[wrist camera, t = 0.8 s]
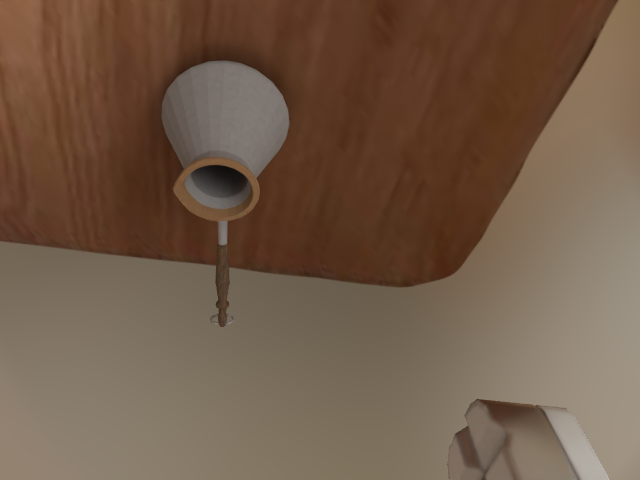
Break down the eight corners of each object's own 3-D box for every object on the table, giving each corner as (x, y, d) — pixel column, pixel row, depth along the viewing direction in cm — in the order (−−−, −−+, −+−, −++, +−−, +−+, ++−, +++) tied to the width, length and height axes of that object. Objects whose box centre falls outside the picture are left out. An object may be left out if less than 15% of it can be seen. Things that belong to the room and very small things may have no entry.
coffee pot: (159, 41, 47) (126, 144, 37) (292, 50, 49) (297, 152, 38) (179, 221, 62) (160, 330, 52) (280, 224, 64) (281, 331, 53)
